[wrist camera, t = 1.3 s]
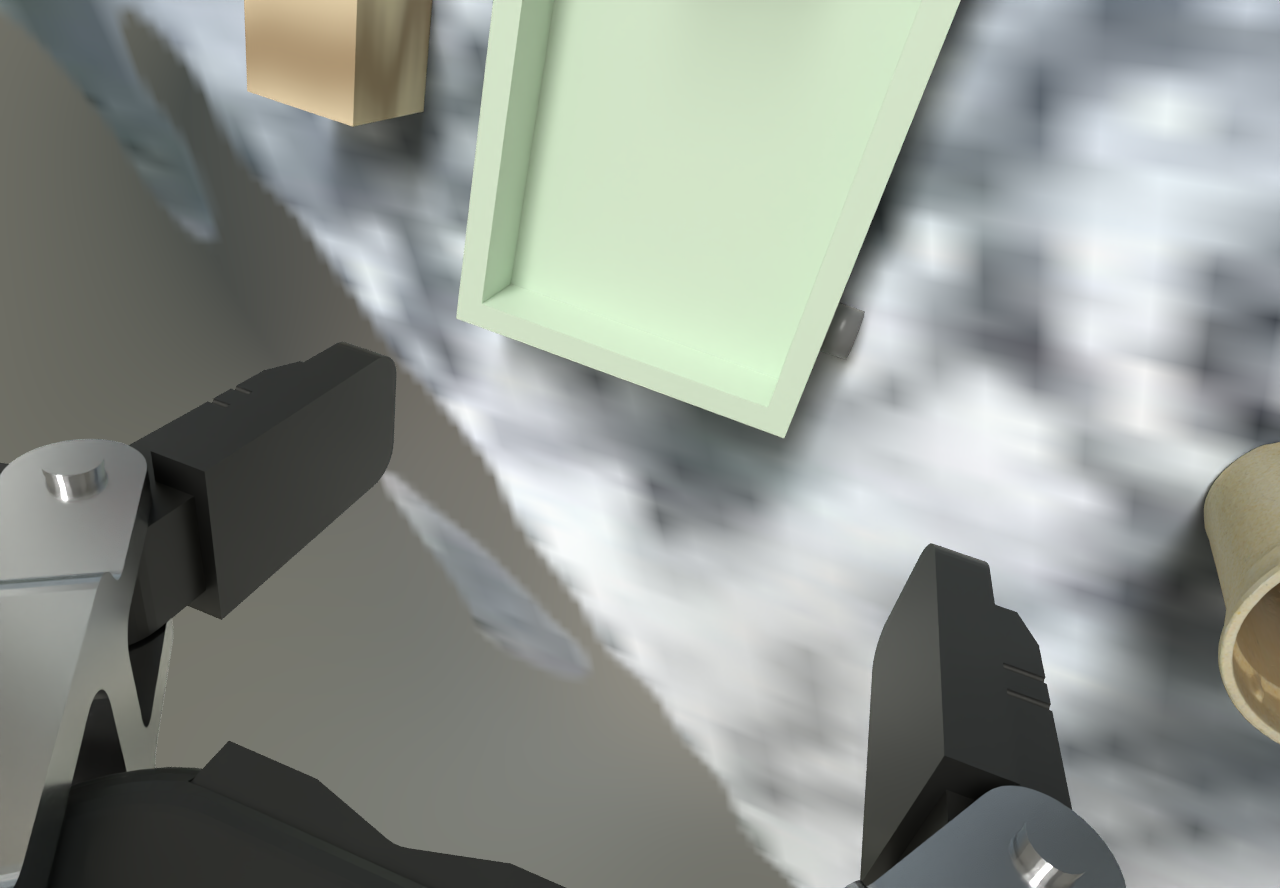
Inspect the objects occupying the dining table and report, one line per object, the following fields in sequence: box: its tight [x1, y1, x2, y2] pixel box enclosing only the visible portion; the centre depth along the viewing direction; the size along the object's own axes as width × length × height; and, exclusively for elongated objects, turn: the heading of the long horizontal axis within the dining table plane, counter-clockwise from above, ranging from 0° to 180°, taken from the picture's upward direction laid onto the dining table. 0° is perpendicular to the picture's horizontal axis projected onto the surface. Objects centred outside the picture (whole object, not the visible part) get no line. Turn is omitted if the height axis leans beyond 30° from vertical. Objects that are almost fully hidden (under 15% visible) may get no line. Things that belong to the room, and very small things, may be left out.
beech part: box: [244, 0, 432, 127], centre depth 30 cm, size 4×4×5 cm
